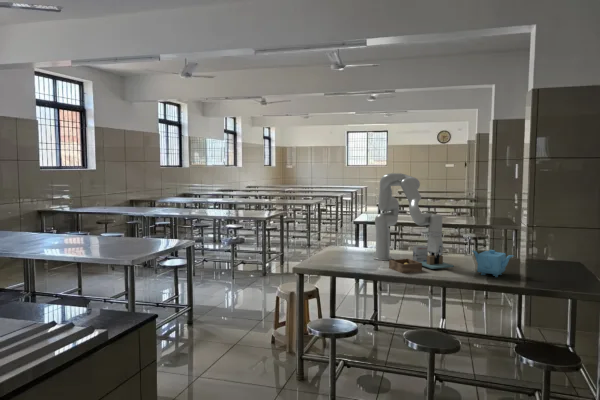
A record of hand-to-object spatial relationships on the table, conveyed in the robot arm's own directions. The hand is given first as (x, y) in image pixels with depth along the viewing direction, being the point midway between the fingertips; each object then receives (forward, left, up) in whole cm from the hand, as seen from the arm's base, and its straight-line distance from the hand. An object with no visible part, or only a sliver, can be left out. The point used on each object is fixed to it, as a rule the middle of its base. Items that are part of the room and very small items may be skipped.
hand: (434, 263), depth 289 cm
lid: (0, 0, -1) cm, 1 cm away
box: (0, -22, -4) cm, 22 cm away
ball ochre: (-2, -19, -3) cm, 20 cm away
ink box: (-16, +1, -4) cm, 16 cm away
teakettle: (+25, +21, -4) cm, 33 cm away
